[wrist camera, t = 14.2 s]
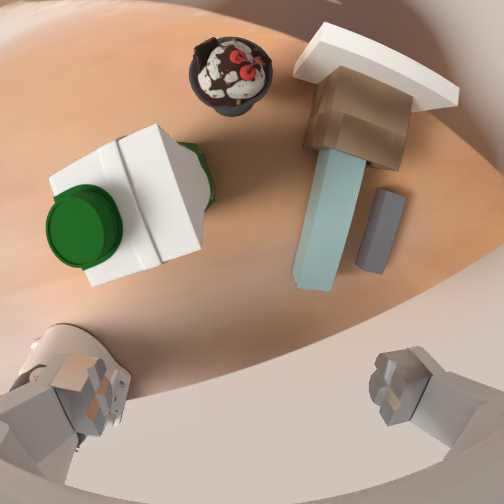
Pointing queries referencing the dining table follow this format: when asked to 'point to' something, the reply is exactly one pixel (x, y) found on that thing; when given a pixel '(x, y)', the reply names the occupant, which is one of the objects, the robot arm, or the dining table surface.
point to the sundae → (230, 74)
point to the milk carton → (129, 205)
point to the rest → (380, 231)
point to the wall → (373, 67)
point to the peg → (327, 219)
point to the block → (359, 118)
